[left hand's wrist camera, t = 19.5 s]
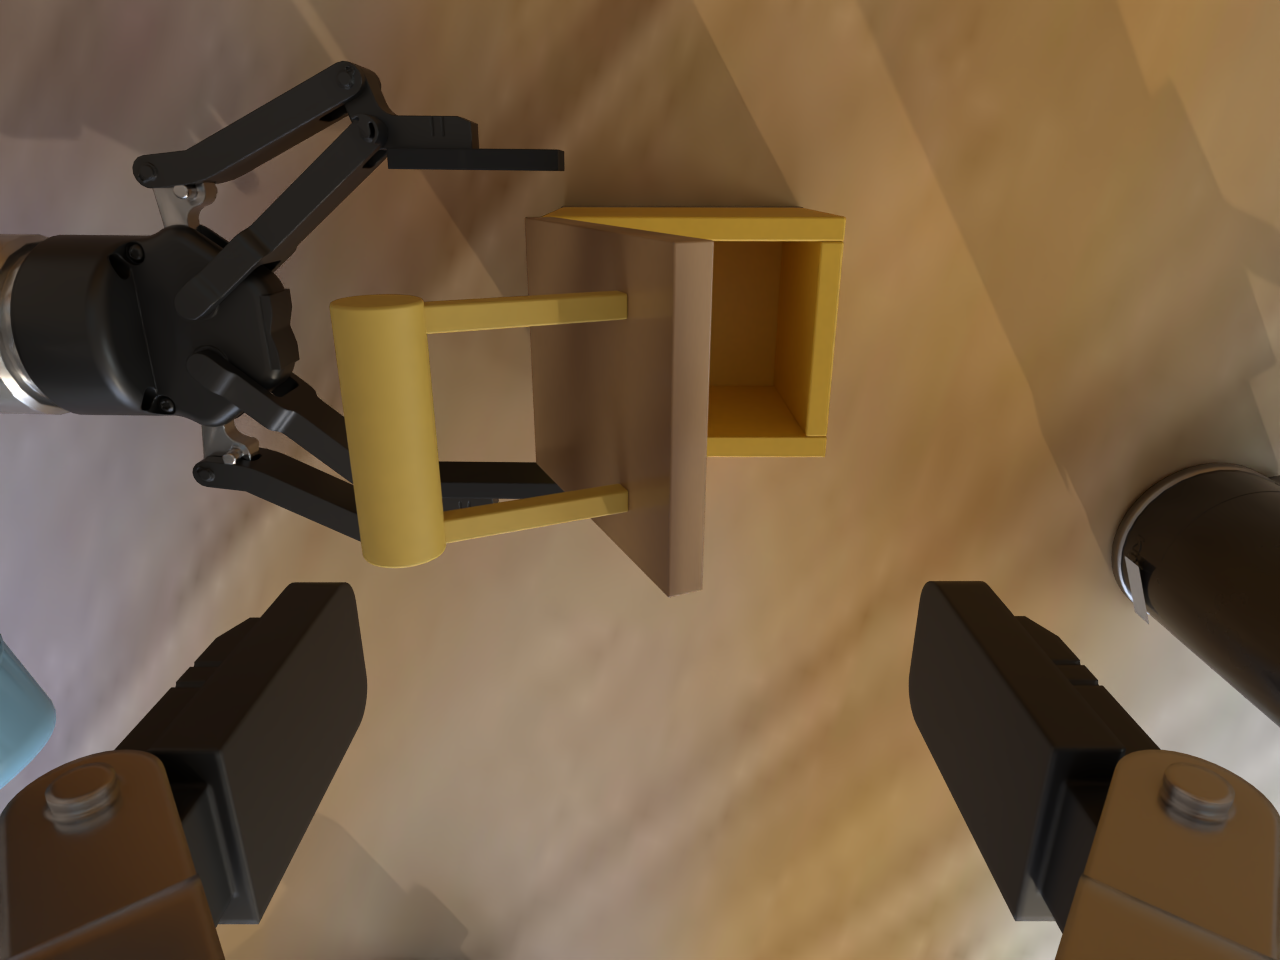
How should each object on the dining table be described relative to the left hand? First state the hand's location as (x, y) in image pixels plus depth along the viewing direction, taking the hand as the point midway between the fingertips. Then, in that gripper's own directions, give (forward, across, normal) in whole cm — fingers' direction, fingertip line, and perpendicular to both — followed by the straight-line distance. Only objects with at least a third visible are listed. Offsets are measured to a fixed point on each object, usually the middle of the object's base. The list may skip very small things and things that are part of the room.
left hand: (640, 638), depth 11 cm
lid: (+16, -1, 0) cm, 16 cm away
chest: (+31, +2, 0) cm, 31 cm away
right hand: (+24, -3, 0) cm, 25 cm away
